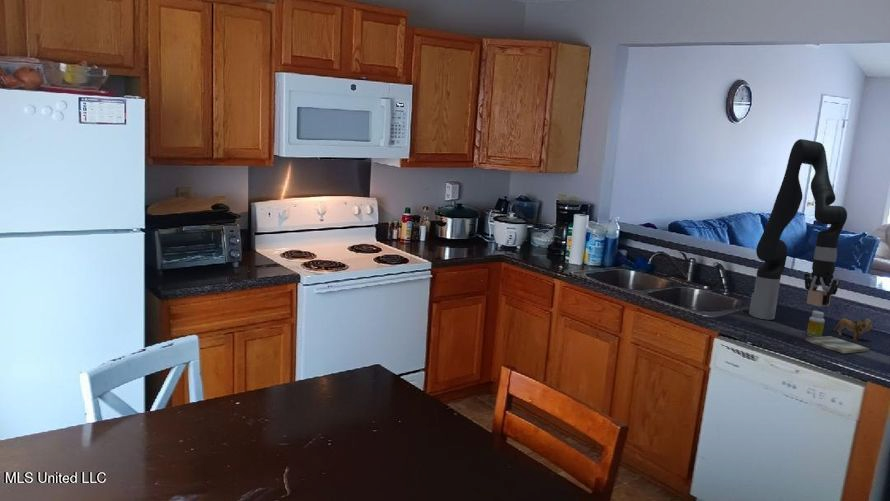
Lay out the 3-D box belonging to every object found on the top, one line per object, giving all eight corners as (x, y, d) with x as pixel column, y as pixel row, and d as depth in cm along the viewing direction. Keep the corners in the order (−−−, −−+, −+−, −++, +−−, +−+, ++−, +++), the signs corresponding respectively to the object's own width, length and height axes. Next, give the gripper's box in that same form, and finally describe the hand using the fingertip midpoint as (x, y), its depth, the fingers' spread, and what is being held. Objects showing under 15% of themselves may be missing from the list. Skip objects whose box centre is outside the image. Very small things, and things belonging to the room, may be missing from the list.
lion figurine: (871, 342, 276) (876, 319, 274) (864, 343, 273) (869, 321, 271) (833, 330, 288) (837, 309, 286) (826, 332, 285) (830, 310, 283)
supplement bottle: (815, 338, 275) (820, 314, 273) (803, 334, 279) (807, 310, 278) (824, 337, 277) (829, 313, 275) (812, 333, 282) (816, 309, 280)
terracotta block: (806, 303, 269) (808, 290, 268) (817, 302, 271) (819, 289, 271) (818, 306, 265) (819, 293, 264) (829, 305, 267) (831, 292, 266)
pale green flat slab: (804, 340, 271) (805, 337, 270) (830, 338, 276) (830, 335, 276) (843, 353, 256) (843, 350, 256) (868, 351, 262) (869, 348, 262)
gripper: (801, 255, 270) (795, 299, 273) (834, 262, 257) (828, 308, 260) (815, 255, 273) (809, 299, 276) (849, 262, 260) (842, 307, 263)
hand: (818, 303), depth 268 cm, fingers closed on terracotta block, 5 cm apart
